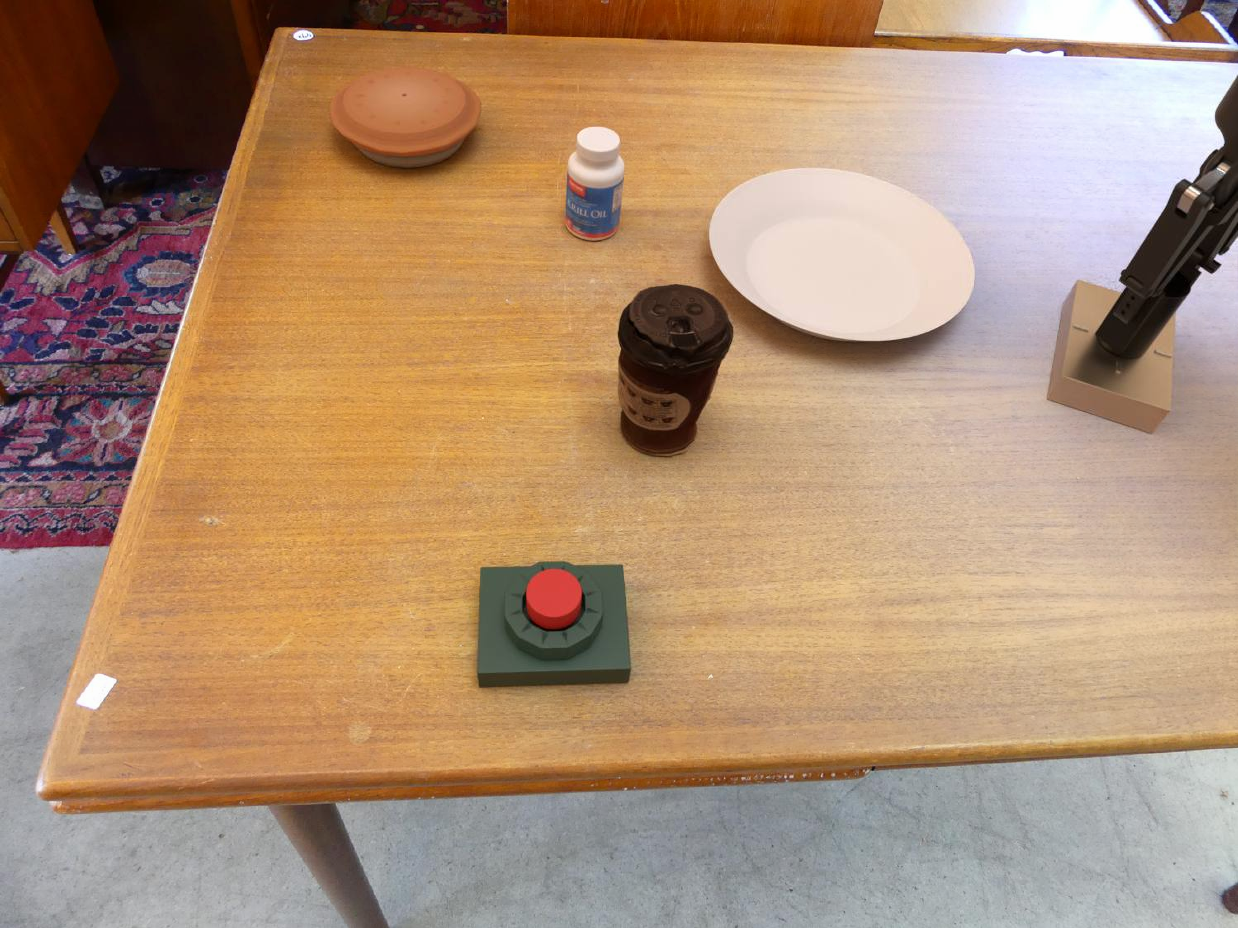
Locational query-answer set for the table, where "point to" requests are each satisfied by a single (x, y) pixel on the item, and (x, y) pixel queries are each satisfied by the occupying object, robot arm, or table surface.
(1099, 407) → the panel
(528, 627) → the button box
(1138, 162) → the table surface
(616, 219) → the pill bottle
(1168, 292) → the hob knob
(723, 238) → the white plate
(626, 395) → the coffee cup
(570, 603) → the button
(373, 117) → the pie
